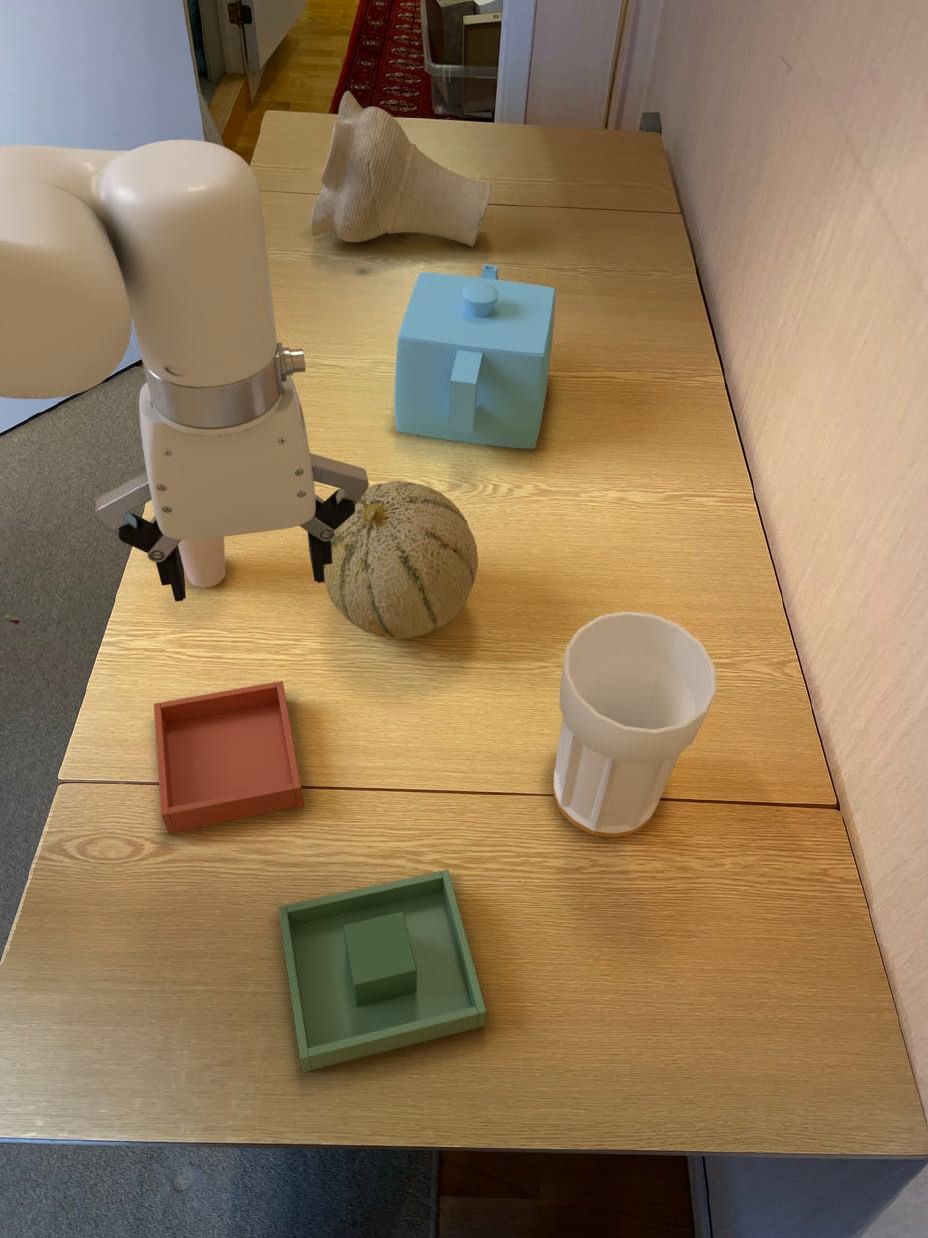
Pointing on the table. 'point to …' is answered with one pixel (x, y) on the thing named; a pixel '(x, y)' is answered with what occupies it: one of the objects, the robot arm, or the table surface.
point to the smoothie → (203, 560)
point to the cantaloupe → (402, 561)
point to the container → (474, 359)
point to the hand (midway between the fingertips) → (249, 577)
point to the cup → (627, 718)
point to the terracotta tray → (225, 757)
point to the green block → (380, 959)
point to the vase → (391, 184)
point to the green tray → (326, 986)
